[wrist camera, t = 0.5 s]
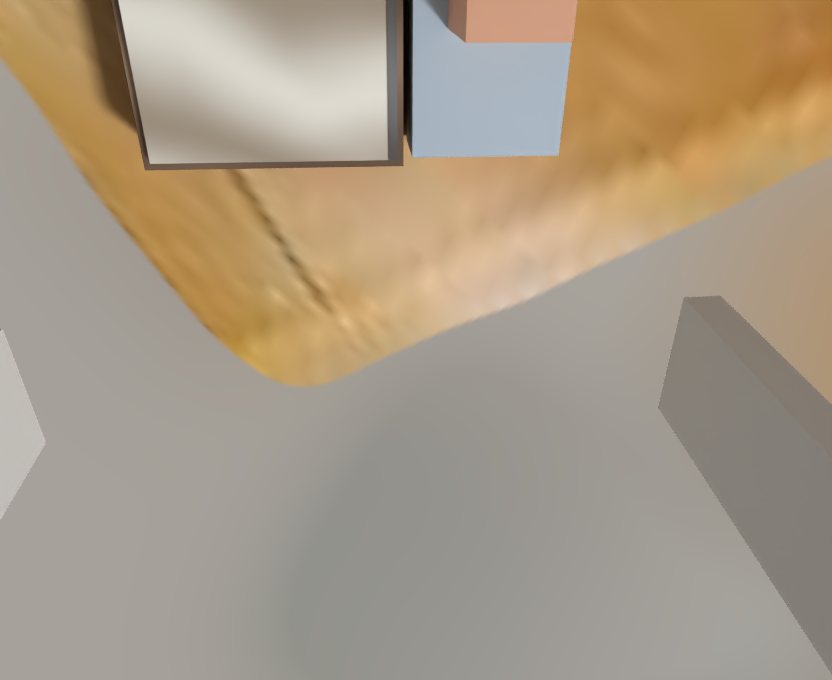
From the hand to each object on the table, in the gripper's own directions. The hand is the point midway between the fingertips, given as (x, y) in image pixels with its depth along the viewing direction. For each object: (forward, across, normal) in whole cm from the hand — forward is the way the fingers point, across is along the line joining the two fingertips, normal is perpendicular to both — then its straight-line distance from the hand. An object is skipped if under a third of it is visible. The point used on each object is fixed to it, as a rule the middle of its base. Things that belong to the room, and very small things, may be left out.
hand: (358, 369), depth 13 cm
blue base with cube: (+24, +6, +6) cm, 25 cm away
